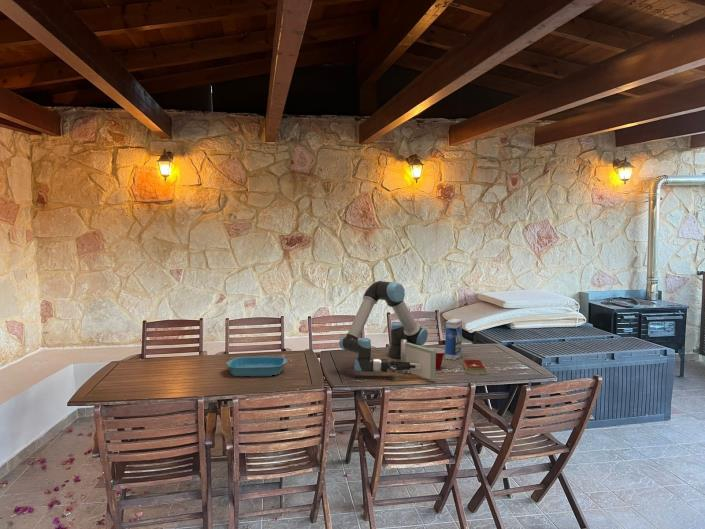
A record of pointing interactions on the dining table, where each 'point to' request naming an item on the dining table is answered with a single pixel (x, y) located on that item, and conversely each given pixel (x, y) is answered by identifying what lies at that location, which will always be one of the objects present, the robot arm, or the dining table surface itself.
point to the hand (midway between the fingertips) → (421, 366)
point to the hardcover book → (474, 366)
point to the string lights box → (453, 339)
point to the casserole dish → (256, 366)
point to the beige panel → (421, 360)
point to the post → (403, 355)
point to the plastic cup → (438, 357)
